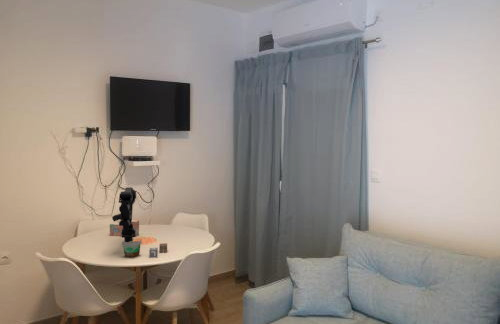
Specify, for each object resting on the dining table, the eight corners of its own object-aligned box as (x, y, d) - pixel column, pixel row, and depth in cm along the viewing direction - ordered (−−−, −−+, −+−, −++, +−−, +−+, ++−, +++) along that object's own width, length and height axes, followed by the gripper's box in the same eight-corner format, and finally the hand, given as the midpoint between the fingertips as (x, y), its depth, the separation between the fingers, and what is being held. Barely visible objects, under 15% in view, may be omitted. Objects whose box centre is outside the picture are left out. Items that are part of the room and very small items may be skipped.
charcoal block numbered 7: (149, 255, 245) (149, 247, 245) (157, 254, 246) (157, 247, 246) (149, 257, 240) (149, 250, 240) (157, 257, 241) (157, 249, 241)
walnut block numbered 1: (159, 250, 255) (159, 243, 255) (167, 250, 256) (167, 243, 256) (159, 253, 250) (159, 245, 250) (166, 252, 251) (167, 245, 251)
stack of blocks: (109, 235, 288) (109, 220, 287) (113, 233, 295) (113, 218, 294) (135, 237, 286) (135, 221, 285) (139, 235, 292) (139, 219, 291)
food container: (121, 258, 237) (121, 243, 237) (122, 255, 243) (122, 240, 243) (141, 257, 240) (141, 242, 239) (141, 254, 246) (141, 239, 245)
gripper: (115, 207, 257) (115, 229, 258) (110, 213, 239) (110, 236, 240) (132, 207, 259) (132, 229, 260) (128, 212, 241) (128, 236, 242)
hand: (125, 232), depth 251 cm, fingers closed
